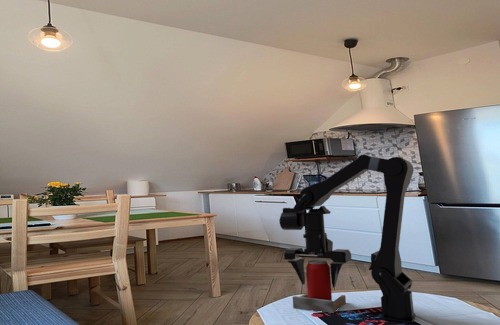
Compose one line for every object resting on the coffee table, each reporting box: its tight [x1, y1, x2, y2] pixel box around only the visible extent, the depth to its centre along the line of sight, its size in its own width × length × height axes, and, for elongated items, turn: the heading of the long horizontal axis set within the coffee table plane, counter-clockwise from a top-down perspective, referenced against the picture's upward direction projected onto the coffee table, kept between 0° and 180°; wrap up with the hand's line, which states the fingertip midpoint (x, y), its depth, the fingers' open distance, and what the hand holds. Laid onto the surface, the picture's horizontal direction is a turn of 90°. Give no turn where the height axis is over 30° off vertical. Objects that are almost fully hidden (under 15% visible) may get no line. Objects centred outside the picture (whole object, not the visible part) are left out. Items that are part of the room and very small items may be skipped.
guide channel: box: [292, 292, 347, 314], centre depth 94 cm, size 11×11×3 cm
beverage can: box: [305, 259, 333, 301], centre depth 94 cm, size 7×7×12 cm
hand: (318, 285), depth 94 cm, fingers open, 9 cm apart
